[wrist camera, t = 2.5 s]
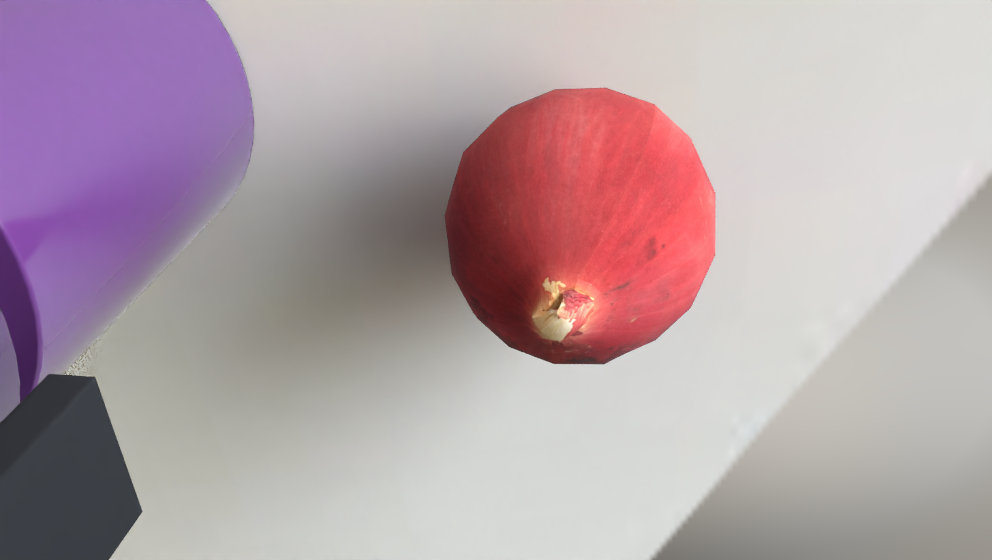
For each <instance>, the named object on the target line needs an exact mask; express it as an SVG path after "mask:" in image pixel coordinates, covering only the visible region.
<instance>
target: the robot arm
mask: <svg viewBox="0 0 992 560" xmlns="http://www.w3.org/2000/svg"><path fill="white" fill-rule="evenodd" d="M141 513H142V509H141V506H140V503H139V501H138V498H137V495H136V492H135V489H134V486H133V484H132V481H131V478H130V475H129V472H128V469H127V467H126V464H125V461H124V458H123V455H122V452H121V450H120V447H119V444H118V441H117V438H116V435H115V433H114V430H113V427H112V424H111V421H110V418H109V416H108V413H107V410H106V407H105V404H104V401H103V399H102V396H101V393H100V390H99V387H98V384H97V382H96V379H95V377H85V376H72V375H58V374H48V375H47V376H46V377H45V378H44V379H43V380H42V381H41V382H40V383H39V384H38V385H37V386H36V387H35V388H34V389H33V390H32V391H31V392H30V393H29V394H28V395H27V396H26V397H25V398H24V399H23V400H22V401H21V402H20V403H19V404H18V405H17V406H16V407H15V408H14V409H13V410H12V412H11V413H10V414H9V415H8V416H7V417H6V418H5V419H4V420H3V421H2V422H1V423H0V560H109V559H110V557H111V556H112V554H113V553H114V551H115V550H116V549H117V547H118V546H119V544H120V543H121V541H122V540H123V539H124V537H125V536H126V534H127V533H128V531H129V530H130V529H131V527H132V526H133V524H134V523H135V521H136V520H137V519H138V517H139V516H140V514H141Z"/></svg>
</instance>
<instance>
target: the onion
mask: <svg viewBox="0 0 992 560" xmlns="http://www.w3.org/2000/svg"><path fill="white" fill-rule="evenodd" d="M445 223H446V231H447V240H448V248H449V257H450V264H451V271H452V275H453V277H454V279H455V280H456V282H457V284H458V286H459V288H460V290H461V291H462V293H463V295H464V297H465V299H466V301H467V302H468V304H469V306H470V308H471V310H472V311H473V313H474V314H475V316H476V317H477V318H478V319H479V320H480V321H481V322H482V323H483V324H484V325H485V326H486V327H488V328H489V329H490V330H491V331H492V332H493V333H494V334H495V335H496V336H498V337H499V338H500V339H501V340H502V341H503V342H504V343H505V344H507V345H508V346H509V347H511V348H513V349H516V350H519V351H521V352H524V353H527V354H529V355H532V356H534V357H537V358H540V359H542V360H545V361H548V362H550V363H553V364H605V363H607V362H609V361H611V360H613V359H615V358H617V357H619V356H621V355H623V354H625V353H627V352H630V351H632V350H634V349H636V348H639V347H641V346H643V345H645V344H648V343H650V342H652V341H655V340H656V339H657V338H658V337H659V336H660V335H661V334H662V333H664V332H665V331H666V330H667V329H668V328H669V327H670V326H671V325H672V324H673V323H675V322H676V321H677V320H678V319H679V318H680V317H681V316H682V315H683V314H684V313H685V312H687V311H688V310H689V309H690V308H691V306H692V304H693V302H694V300H695V298H696V296H697V293H698V291H699V289H700V287H701V285H702V282H703V280H704V278H705V276H706V274H707V271H708V269H709V267H710V265H711V263H712V261H713V258H714V256H715V192H714V190H713V187H712V185H711V183H710V181H709V178H708V176H707V174H706V172H705V169H704V167H703V165H702V163H701V160H700V158H699V156H698V154H697V151H696V149H695V147H694V145H693V143H692V141H691V139H690V137H689V136H688V135H687V134H686V133H685V132H684V131H683V130H681V129H680V128H679V127H678V126H677V125H676V124H675V123H674V122H673V121H672V120H671V119H670V118H668V117H667V116H666V115H665V114H664V113H663V112H662V111H661V110H660V109H659V108H658V107H657V106H655V105H654V104H652V103H649V102H646V101H643V100H640V99H637V98H634V97H631V96H628V95H625V94H622V93H619V92H616V91H613V90H610V89H607V88H586V89H555V90H552V91H550V92H547V93H545V94H543V95H540V96H538V97H535V98H533V99H530V100H528V101H525V102H523V103H520V104H518V105H516V106H513V107H511V108H509V109H508V110H507V111H505V112H504V113H503V114H502V115H500V116H499V117H498V118H497V119H496V120H495V121H494V122H493V123H492V124H491V125H490V126H489V127H488V128H487V129H486V130H485V131H484V132H483V133H482V134H481V135H480V136H479V137H478V138H477V139H476V140H475V141H474V142H473V143H472V144H471V145H470V146H469V147H468V148H467V149H466V150H465V151H464V152H463V155H462V158H461V161H460V164H459V167H458V171H457V174H456V177H455V181H454V184H453V187H452V191H451V194H450V198H449V201H448V205H447V208H446V212H445Z"/></svg>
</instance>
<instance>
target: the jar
mask: <svg viewBox="0 0 992 560" xmlns="http://www.w3.org/2000/svg"><path fill="white" fill-rule="evenodd" d="M253 130H254V118H253V107H252V99H251V94H250V90H249V85H248V81H247V77H246V74H245V71H244V68H243V65H242V62H241V60H240V57H239V55H238V52H237V50H236V48H235V46H234V44H233V42H232V40H231V38H230V36H229V34H228V32H227V30H226V29H225V27H224V26H223V24H222V22H221V21H220V19H219V17H218V16H217V14H216V13H215V11H214V10H213V9H212V7H211V6H210V5H209V4H208V2H207V1H206V0H0V423H1V422H2V421H3V420H4V419H5V418H6V417H7V416H8V415H9V414H10V413H11V412H12V410H13V409H14V408H15V407H16V406H17V405H18V404H19V403H20V402H21V401H22V400H23V399H24V398H25V397H26V396H27V395H28V394H29V393H30V392H31V391H32V390H33V389H34V388H35V387H36V386H37V385H38V384H39V383H40V382H41V381H42V380H43V379H44V378H45V377H46V376H47V375H48V374H58V375H63V374H64V373H65V372H66V371H67V370H68V369H69V368H70V367H71V366H72V365H73V364H74V363H75V362H76V361H77V360H78V359H79V357H80V356H81V355H82V354H83V353H84V352H85V351H86V350H87V349H88V348H89V347H90V346H91V345H92V344H93V343H94V342H95V341H96V340H97V339H98V338H99V337H100V336H101V335H102V334H103V333H104V332H105V331H106V330H107V329H108V327H109V326H110V325H111V324H112V323H113V322H114V321H115V320H116V319H117V318H118V317H119V316H120V315H121V314H122V313H123V312H124V311H125V310H126V309H127V308H128V307H129V306H130V305H131V304H132V303H133V302H134V301H135V300H136V299H137V298H138V296H139V295H140V294H141V293H142V292H143V291H144V290H145V289H146V288H147V287H148V286H149V285H150V284H151V283H152V282H153V281H154V280H155V279H156V278H157V277H158V276H159V275H160V274H161V273H162V272H163V271H164V270H165V269H166V268H167V267H168V265H169V264H170V263H171V262H172V261H173V260H174V259H175V258H176V257H177V256H178V255H179V254H180V253H181V252H182V251H183V250H184V249H185V248H186V247H187V246H188V245H189V244H190V243H191V242H192V241H193V240H194V239H195V238H196V237H197V236H198V234H199V233H200V232H201V231H202V230H203V229H204V228H205V227H206V226H207V225H208V224H209V223H210V222H211V221H212V220H213V219H214V218H215V217H216V216H217V215H218V214H219V213H220V212H221V211H222V210H223V209H224V208H225V206H226V205H227V204H228V203H229V201H230V200H231V199H232V197H233V196H234V195H235V193H236V192H237V190H238V188H239V186H240V184H241V182H242V181H243V179H244V176H245V173H246V170H247V167H248V164H249V161H250V156H251V151H252V145H253Z"/></svg>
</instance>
